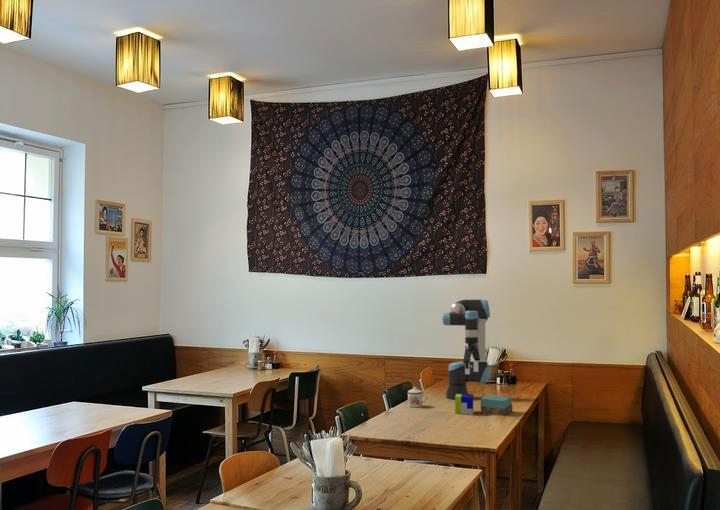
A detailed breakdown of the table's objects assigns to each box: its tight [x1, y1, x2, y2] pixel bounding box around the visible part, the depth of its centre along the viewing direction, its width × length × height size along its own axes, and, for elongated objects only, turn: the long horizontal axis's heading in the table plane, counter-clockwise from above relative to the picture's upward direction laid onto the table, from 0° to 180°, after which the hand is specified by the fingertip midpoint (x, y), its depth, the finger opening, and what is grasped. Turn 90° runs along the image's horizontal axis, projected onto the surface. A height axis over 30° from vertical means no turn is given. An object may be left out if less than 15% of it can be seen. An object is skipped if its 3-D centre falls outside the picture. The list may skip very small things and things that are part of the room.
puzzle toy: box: [454, 393, 474, 416], centre depth 388 cm, size 10×10×10 cm
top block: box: [480, 394, 513, 409], centre depth 388 cm, size 14×14×4 cm
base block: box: [480, 404, 513, 417], centre depth 388 cm, size 14×14×4 cm
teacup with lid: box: [407, 386, 428, 408], centre depth 407 cm, size 12×9×12 cm
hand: (471, 372), depth 392 cm, fingers open, 13 cm apart
